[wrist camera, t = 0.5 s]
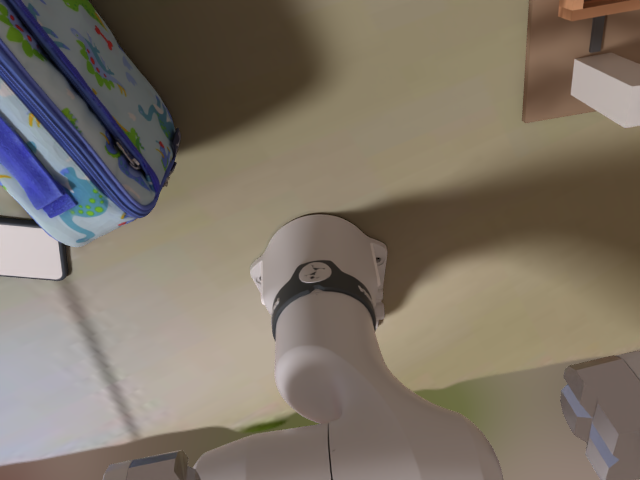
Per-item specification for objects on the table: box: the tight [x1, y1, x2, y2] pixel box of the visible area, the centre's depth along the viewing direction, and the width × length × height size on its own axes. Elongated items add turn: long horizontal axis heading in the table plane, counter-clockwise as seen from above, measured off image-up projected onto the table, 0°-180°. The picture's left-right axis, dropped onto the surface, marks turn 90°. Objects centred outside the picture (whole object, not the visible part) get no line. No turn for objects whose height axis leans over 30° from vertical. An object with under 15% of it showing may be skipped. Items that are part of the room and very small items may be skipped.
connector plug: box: [571, 53, 640, 128], centre depth 51 cm, size 4×4×14 cm
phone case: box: [0, 217, 68, 281], centre depth 65 cm, size 9×2×16 cm
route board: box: [522, 0, 640, 123], centre depth 53 cm, size 20×14×4 cm
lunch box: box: [0, 0, 181, 247], centre depth 45 cm, size 26×11×21 cm, turn 27°
